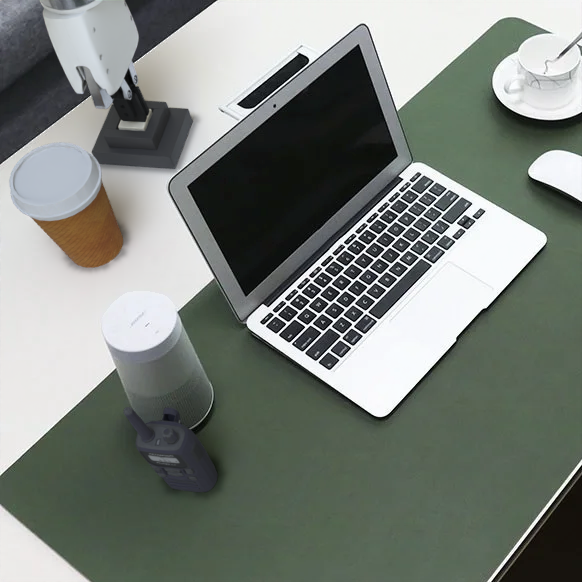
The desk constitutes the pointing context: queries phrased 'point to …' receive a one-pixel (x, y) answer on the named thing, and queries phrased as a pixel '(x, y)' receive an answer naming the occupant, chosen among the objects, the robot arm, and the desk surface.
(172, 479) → the two-way radio
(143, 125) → the key
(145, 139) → the key block
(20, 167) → the disposable coffee cup
